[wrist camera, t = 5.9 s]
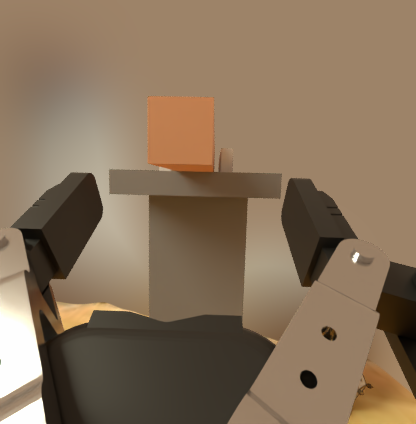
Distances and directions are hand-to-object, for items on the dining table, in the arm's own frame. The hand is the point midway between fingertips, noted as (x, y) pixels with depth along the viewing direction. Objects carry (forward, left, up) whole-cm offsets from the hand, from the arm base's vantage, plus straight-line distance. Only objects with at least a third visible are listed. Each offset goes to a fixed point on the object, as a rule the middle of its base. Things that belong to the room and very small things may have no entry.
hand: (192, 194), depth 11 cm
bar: (-1, +12, +1) cm, 12 cm away
